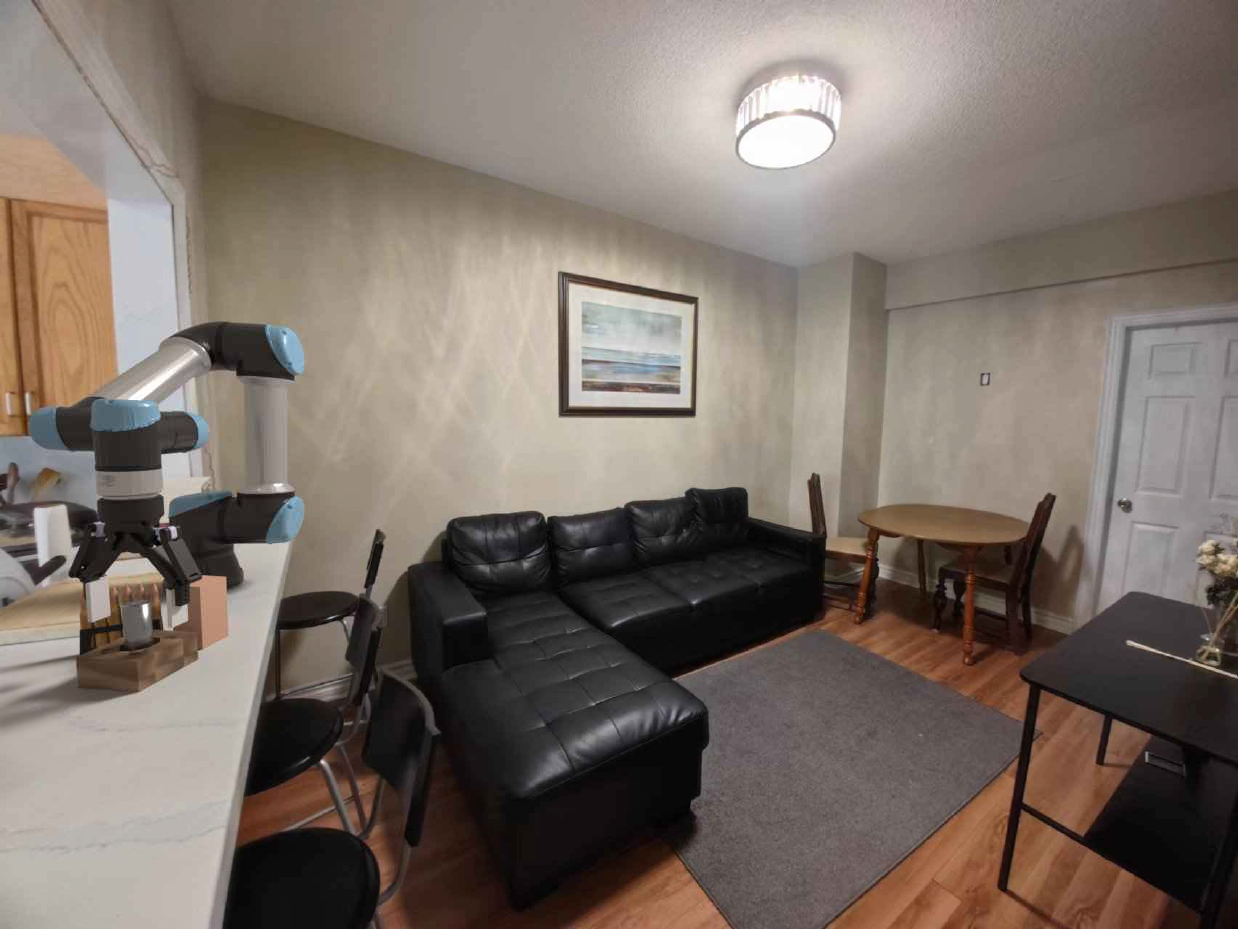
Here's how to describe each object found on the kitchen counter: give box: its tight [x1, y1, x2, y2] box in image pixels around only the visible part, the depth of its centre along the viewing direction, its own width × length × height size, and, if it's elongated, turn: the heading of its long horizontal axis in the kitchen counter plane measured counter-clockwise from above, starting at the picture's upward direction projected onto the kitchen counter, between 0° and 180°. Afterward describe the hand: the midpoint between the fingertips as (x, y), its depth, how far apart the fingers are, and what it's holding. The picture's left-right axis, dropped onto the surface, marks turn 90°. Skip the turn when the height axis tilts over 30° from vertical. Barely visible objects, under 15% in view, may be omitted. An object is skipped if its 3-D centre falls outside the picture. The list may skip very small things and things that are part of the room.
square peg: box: [172, 575, 229, 650], centre depth 89 cm, size 6×6×12 cm
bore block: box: [75, 629, 199, 693], centre depth 79 cm, size 10×10×5 cm
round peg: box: [121, 599, 154, 652], centre depth 78 cm, size 3×3×12 cm
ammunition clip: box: [79, 581, 165, 656], centre depth 85 cm, size 11×2×12 cm, turn 121°
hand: (138, 621), depth 78 cm, fingers open, 13 cm apart
